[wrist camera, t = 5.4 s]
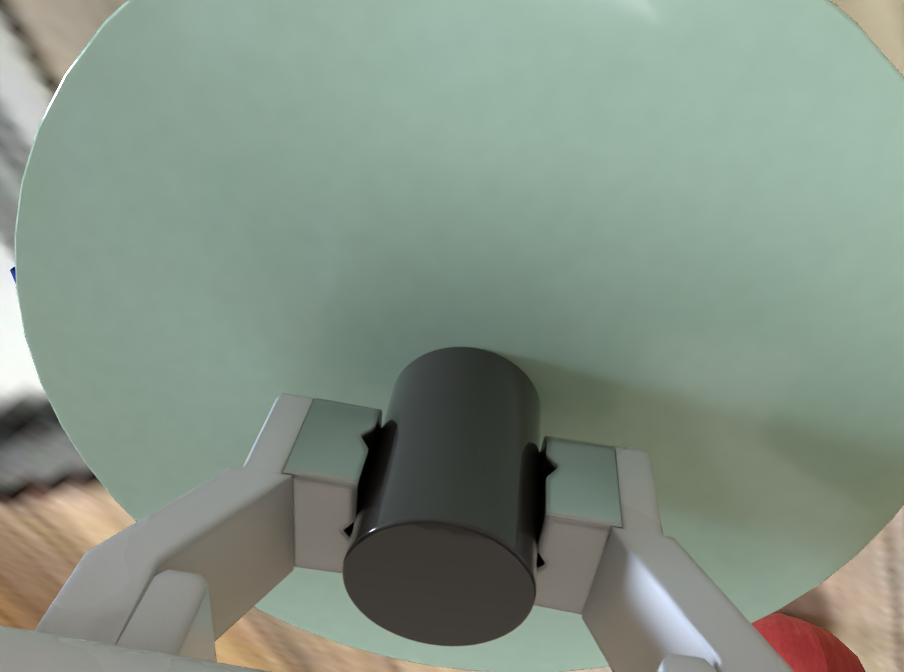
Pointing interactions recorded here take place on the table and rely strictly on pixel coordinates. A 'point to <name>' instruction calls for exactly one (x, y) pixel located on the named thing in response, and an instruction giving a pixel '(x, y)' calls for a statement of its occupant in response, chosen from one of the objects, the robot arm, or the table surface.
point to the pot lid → (484, 283)
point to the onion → (806, 645)
